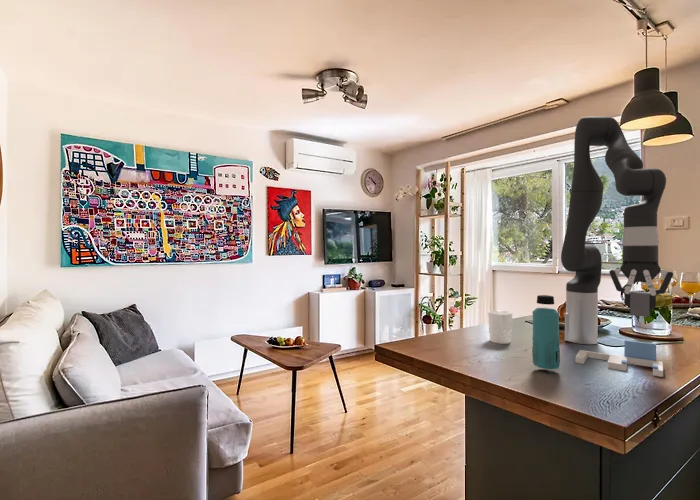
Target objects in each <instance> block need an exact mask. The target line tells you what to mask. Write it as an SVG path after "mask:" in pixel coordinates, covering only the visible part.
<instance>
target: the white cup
mask: <svg viewBox="0 0 700 500" xmlns="http://www.w3.org/2000/svg"><path fill="white" fill-rule="evenodd" d="M487 320H488V321H487V322H488V334H489V341H490V342H491V343H494V344H499V345H500V344H501V345H502V344H503V345H507V344H510V343H512V340H511V339H512V332H513V331H512V329H513V312H512V311H511V312H510V311H505V310H488V312H487Z"/></svg>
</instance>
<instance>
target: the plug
mask: <svg viewBox="0 0 700 500" xmlns="http://www.w3.org/2000/svg"><path fill="white" fill-rule="evenodd" d="M649 308H650V291H635V290H631V291H630V308H629V315H630V316H636V317H647V318H649V317H650V312H651V310H649Z"/></svg>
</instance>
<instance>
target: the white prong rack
mask: <svg viewBox="0 0 700 500" xmlns="http://www.w3.org/2000/svg"><path fill="white" fill-rule="evenodd" d="M623 348H624V356H623V355H617V354H610V353H605V352H604V353H603V352H597V351H589V350H582V349H579V351H578V353H577V354H576V356H575V361H574V362H575V363H577V364H582V365H583V364H585V362H586V360H587V359H588V358H591V359H598V360H603V361H604V360H605V361H607V368H608V369H612V370H618V371H625V372H627V368H628V365H629V364H630V365H635V366H640V367H641V366H642V367H649V368H652V376H654V377H660V378H663V377H664V366H663V364H664V363H663V361H658V360H657V343H651V342H645V341H637V340H636V341H635V340H629V339H624V347H623Z"/></svg>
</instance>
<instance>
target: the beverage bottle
mask: <svg viewBox="0 0 700 500" xmlns="http://www.w3.org/2000/svg"><path fill="white" fill-rule="evenodd" d="M536 304H538V305H548V306H549V305H551V306H552V305H555V297H554V296H553V295H547V294H540V295H537V297H536ZM531 314H532V337H531V338H532V341H531V342H532V347H531V348H532V352H531V353H532V354H531V355H532V364H533V365H534V366H535V367H538V368H540V369H545V370H557V369H559V368H560V365H561V360H560V358H561V355H560V353H561V342H560V313H559V312H558V310H556V309H555V308H553V307H546V306H544V307H543V306H542V307H540V306H539V307H536V308H535V309H534V310H533V311H532V313H531Z"/></svg>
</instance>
